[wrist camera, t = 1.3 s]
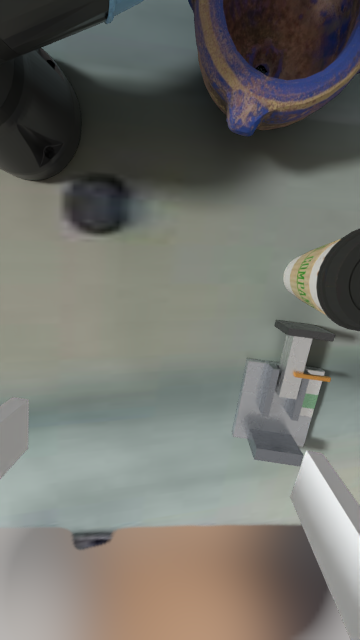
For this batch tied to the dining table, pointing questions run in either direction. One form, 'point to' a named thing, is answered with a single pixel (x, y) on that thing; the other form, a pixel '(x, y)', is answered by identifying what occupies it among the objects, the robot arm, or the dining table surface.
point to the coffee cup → (330, 280)
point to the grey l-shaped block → (274, 413)
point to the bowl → (275, 57)
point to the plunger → (297, 356)
